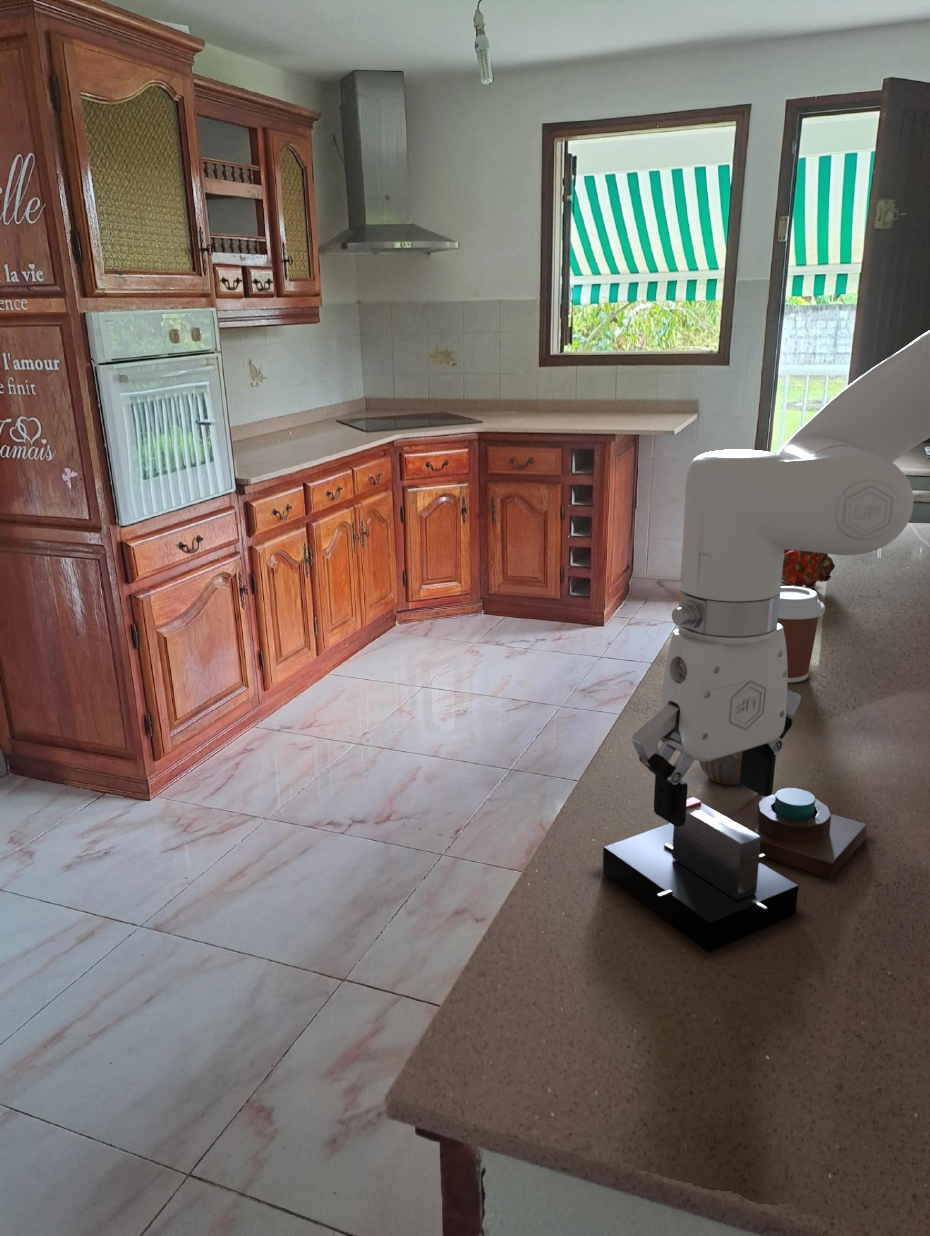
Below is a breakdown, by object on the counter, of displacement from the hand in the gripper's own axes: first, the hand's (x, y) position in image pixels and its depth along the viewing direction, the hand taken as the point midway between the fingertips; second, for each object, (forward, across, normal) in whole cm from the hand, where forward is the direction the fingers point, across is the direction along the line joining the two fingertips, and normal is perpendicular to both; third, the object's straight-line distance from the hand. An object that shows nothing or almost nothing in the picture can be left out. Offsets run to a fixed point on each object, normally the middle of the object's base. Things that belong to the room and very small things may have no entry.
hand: (713, 804), depth 81 cm
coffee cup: (+10, +48, +36) cm, 61 cm away
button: (+7, +15, +4) cm, 16 cm away
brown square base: (+10, +15, +4) cm, 18 cm away
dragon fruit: (+10, +84, +66) cm, 108 cm away
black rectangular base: (+10, 0, +2) cm, 10 cm away
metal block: (+7, 0, 0) cm, 7 cm away
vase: (+10, +19, +17) cm, 28 cm away
